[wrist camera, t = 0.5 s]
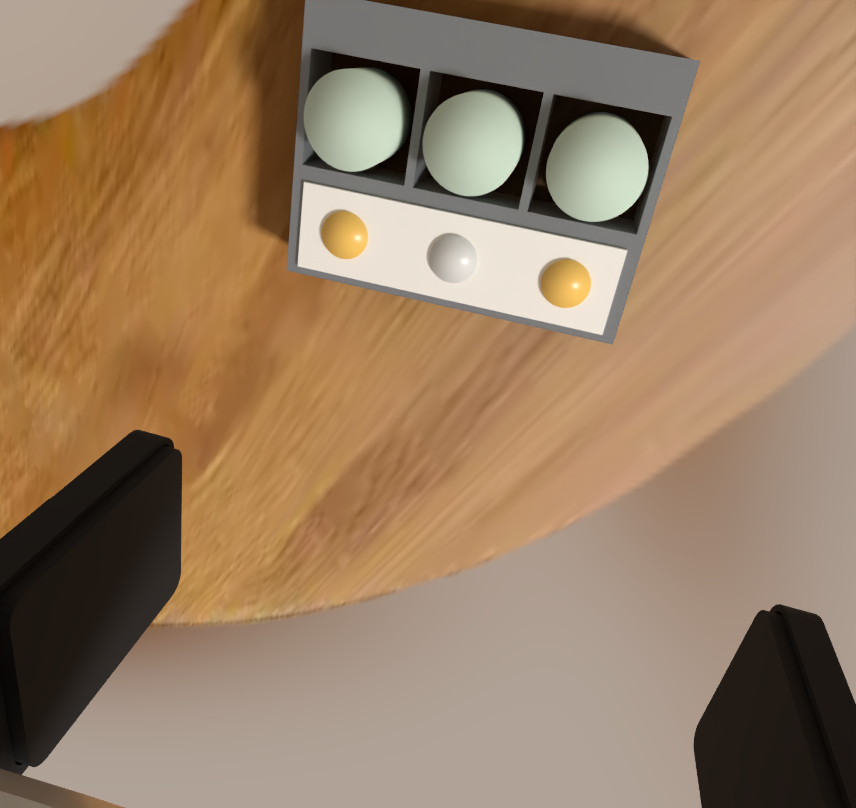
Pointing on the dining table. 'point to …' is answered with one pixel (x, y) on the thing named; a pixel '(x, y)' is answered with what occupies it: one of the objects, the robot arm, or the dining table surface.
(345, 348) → the dining table surface
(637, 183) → the end button
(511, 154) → the middle button
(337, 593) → the dining table surface
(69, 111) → the dining table surface
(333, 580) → the dining table surface
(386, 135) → the end button
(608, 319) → the button board
